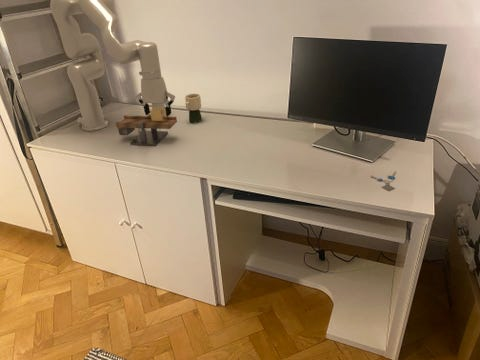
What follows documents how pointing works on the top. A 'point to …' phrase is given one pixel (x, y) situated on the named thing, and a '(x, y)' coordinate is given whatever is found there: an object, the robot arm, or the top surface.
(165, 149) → the top surface
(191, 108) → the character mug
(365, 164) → the top surface
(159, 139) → the stand
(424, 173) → the top surface
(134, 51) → the robot arm
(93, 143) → the top surface
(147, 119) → the beam
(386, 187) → the key chain
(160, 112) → the tan block
